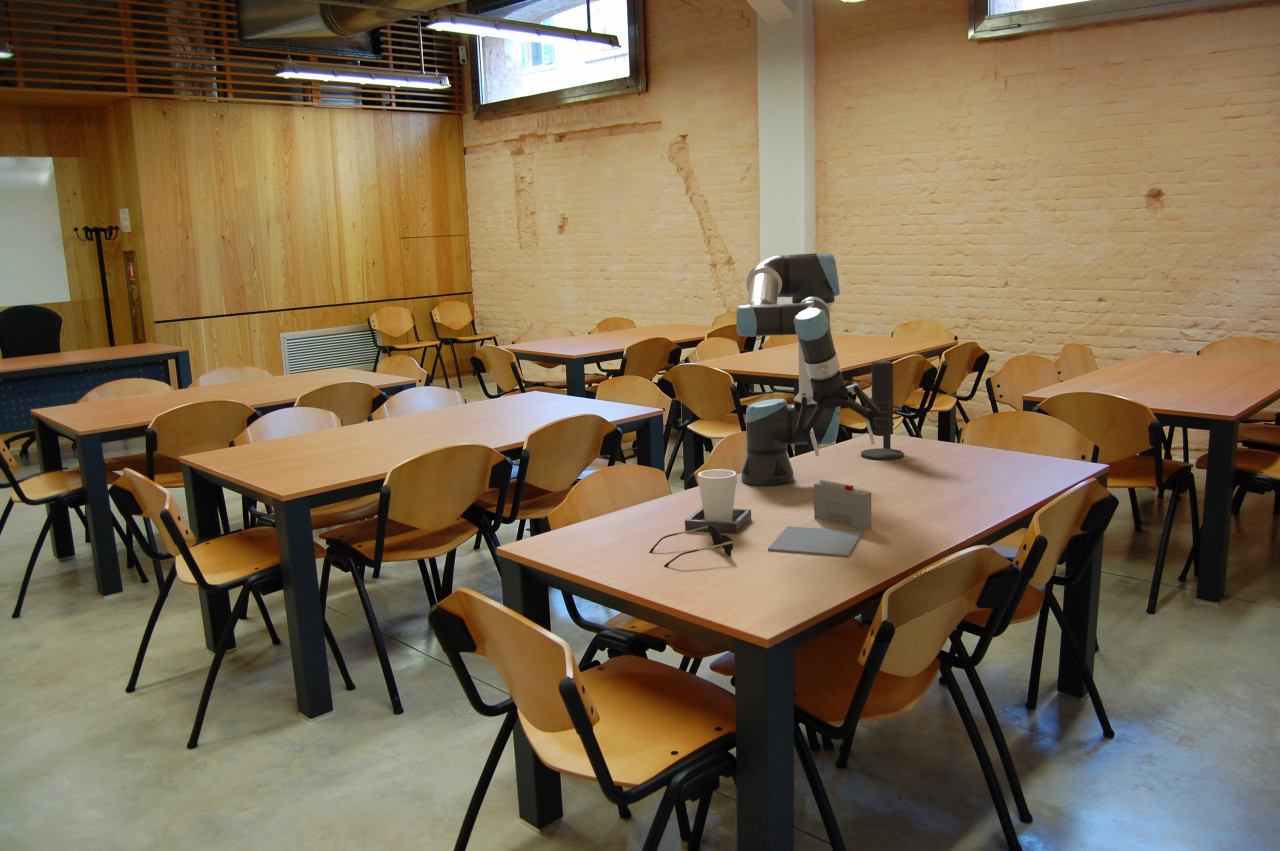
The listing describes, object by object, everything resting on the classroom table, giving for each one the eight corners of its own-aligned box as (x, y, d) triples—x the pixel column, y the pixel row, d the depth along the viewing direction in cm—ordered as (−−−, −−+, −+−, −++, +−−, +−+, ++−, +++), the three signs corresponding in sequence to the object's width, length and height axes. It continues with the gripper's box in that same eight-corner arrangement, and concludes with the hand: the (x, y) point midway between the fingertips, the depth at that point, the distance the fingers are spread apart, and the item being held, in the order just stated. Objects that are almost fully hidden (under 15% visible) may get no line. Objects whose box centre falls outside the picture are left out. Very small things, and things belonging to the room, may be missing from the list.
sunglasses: (735, 560, 212) (733, 538, 211) (666, 574, 208) (664, 552, 207) (712, 543, 225) (710, 522, 224) (647, 556, 221) (645, 535, 220)
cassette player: (871, 529, 229) (871, 488, 227) (864, 531, 228) (863, 490, 226) (821, 516, 242) (821, 478, 240) (814, 518, 240) (813, 479, 238)
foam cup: (744, 522, 240) (742, 471, 237) (727, 532, 232) (725, 479, 230) (710, 517, 245) (709, 468, 242) (692, 527, 237) (691, 476, 235)
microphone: (852, 452, 311) (851, 360, 306) (889, 448, 315) (890, 358, 309) (873, 461, 298) (873, 365, 292) (912, 457, 301) (912, 362, 295)
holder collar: (702, 515, 247) (701, 506, 246) (751, 519, 242) (751, 509, 241) (685, 530, 235) (684, 520, 234) (736, 534, 230) (736, 523, 229)
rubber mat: (787, 528, 233) (787, 526, 233) (862, 533, 226) (862, 531, 226) (768, 550, 216) (767, 548, 216) (848, 557, 210) (848, 554, 210)
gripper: (772, 391, 226) (794, 466, 235) (879, 367, 219) (898, 444, 228) (772, 377, 232) (794, 450, 241) (876, 352, 225) (895, 428, 235)
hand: (845, 447), depth 235 cm, fingers open, 13 cm apart
